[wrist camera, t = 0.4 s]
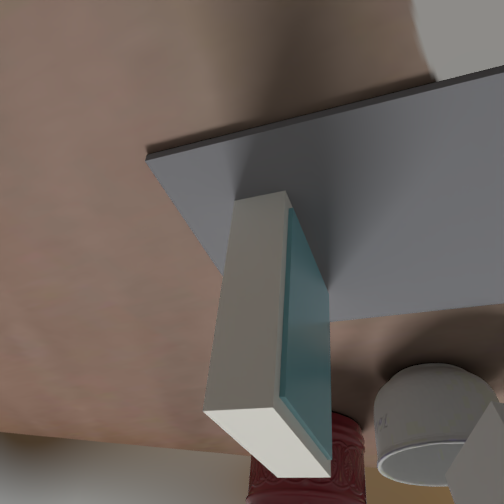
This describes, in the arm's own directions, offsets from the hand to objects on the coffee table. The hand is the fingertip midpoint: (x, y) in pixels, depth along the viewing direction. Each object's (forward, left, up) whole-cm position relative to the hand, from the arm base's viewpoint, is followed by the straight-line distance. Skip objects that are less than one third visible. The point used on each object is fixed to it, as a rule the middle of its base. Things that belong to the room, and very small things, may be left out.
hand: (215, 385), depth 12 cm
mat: (+9, +9, -15) cm, 19 cm away
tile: (+12, +4, -14) cm, 19 cm away
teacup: (+28, +22, -15) cm, 38 cm away
